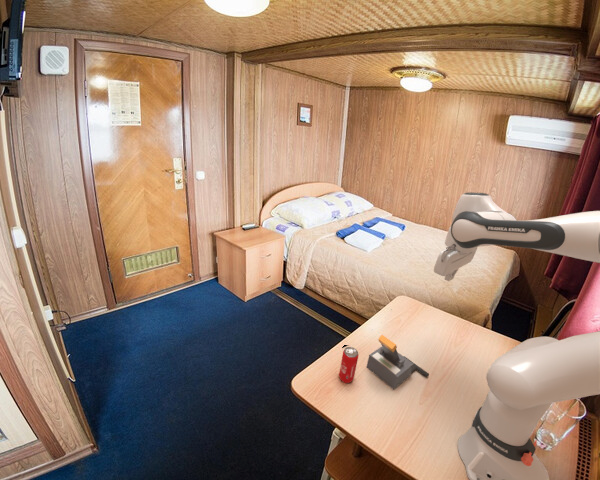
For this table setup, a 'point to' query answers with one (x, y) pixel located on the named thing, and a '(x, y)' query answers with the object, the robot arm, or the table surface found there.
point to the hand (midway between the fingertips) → (448, 279)
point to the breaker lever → (389, 349)
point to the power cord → (418, 369)
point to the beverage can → (348, 364)
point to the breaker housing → (389, 368)
